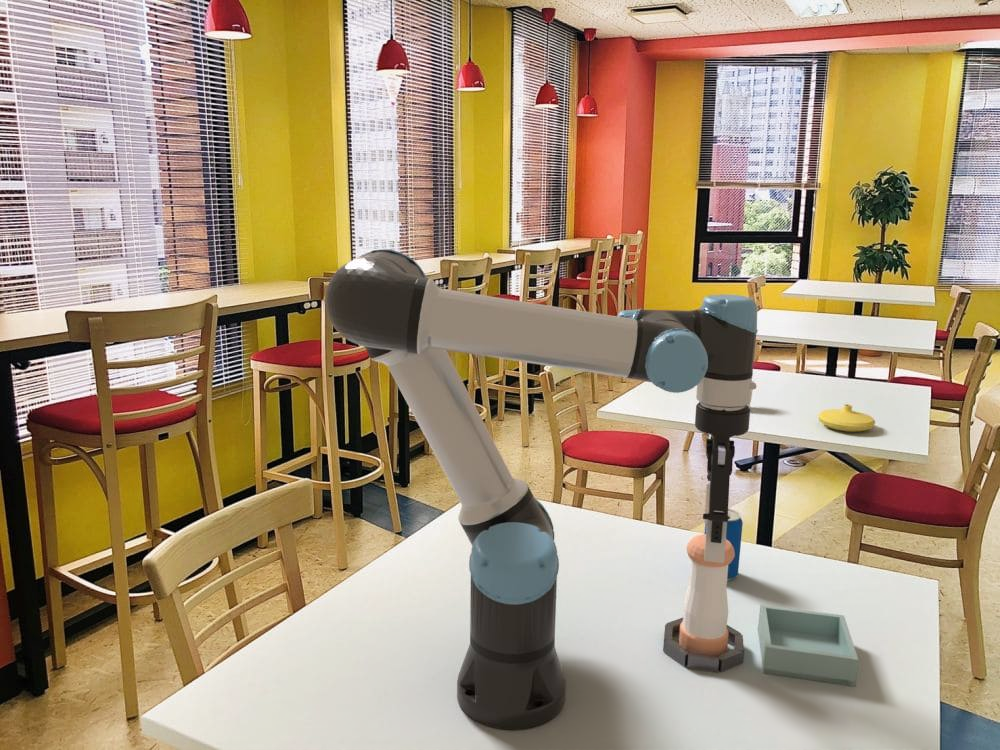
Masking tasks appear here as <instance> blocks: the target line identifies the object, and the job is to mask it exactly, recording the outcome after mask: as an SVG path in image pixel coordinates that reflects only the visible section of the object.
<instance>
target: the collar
mask: <svg viewBox="0 0 1000 750" xmlns="http://www.w3.org/2000/svg"><path fill="white" fill-rule="evenodd" d="M682 621H683V617H681V618H678V619H675V620H673V621H668V622H666V623H665V625H664V633H663V645H662V646H663V647H662V650H663V653H664V654H665V655H667V656H668V657H670V658H671V659H672V660H674V661H675V662H677V663H678V664H679V665H681V666H683V667H684V668H685V667H686V668H687V669H690V670H691V669H692V670H696V671H705V672H710V673H711V672H712V673H719V672H720V673H722V672H725V671H728V670H730V669H732V668H735V667H737V666H740V665H742V664H743V663H744V655H745V654H744V653H745V645H744V636H743V634H742V633H741V632H739V631H738V630H737V629H735V628H733V627H731V626H730V625H728V624H727V627H726V628H727V629H728V634H729V635H728V645H729V644H730V645H731V646H732V647H733V649H731V650H727V652H725V653H723V654H720V655H718V656H715V655H708V654H701V653H694V652H690V651H688V650H687V649H685V648H684V647H682V646H681V645H679V642H677V641H675V640H674V639H673V638H675V637H677V636H678V637H679V634H680V624H681V623H682Z"/></svg>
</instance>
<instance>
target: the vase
mask: <svg viewBox="0 0 1000 750" xmlns="http://www.w3.org/2000/svg"><path fill="white" fill-rule="evenodd" d="M817 418H818V421H819V422H820V423H822V424H823V425H825V426H826V427H828V428H830V429H833V430H837V431H842V432H850V433H855V432H856V433H859V432H863V431H867V430H870V429H872V428H874V426H875V424H876V421H875V419H874V417H872V416H871V415H868V414H866V413H863V412H859V411H855V410H853V405H851V404H847V403H846V404H843V409H825V410H822V411H820V412H819V413H818V415H817Z"/></svg>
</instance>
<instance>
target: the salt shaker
mask: <svg viewBox="0 0 1000 750" xmlns="http://www.w3.org/2000/svg"><path fill="white" fill-rule="evenodd" d="M705 541H706V534H697V535H694V536H693V537H692V538H691V539H690V540H689V541H688V543H687V545H686V553H687V556H688V557H689V559H690V570H689V582H688V586H687V590H686V594H685V598H684V602H683V615H682V618H683V621H682V623H681V624H680V634H679V635H678V644H679V645H681V646H682V647H684V648H685V649H687V650H688V651H690V652H694V653H701V654H708V655H715V656H718V655H720V654H723V653H725V652H728V645H729V643H728V635H729V634H728V629H727V628H726V627H727V625H728V619H729V618H728V617H729V607H728V606H729V604H728V603H729V602H728V591H727V587H728V581H727V575H728V564H730V563H731V561H732V560H733V558H734V556H735V552H734V547H733V546H732V544H731V543H730V542H729V541H728V540H727V539H726V544H725V557H724V563H719V562H709V561H704V556H705Z"/></svg>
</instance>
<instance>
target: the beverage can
mask: <svg viewBox="0 0 1000 750" xmlns="http://www.w3.org/2000/svg"><path fill="white" fill-rule="evenodd" d="M728 516H729V520H728V521H727V530H726V539H727V540H728V541H729V542H730V543H731V544H732V546H733V547H734V552H735V556H734V558H733V560H732V561H731V563H730V564H728V575H727V582H728V581H731V580H733V579H735V578H737V576H738V575H739V566H740V557H741V546H742V545H741V544H742V533H743V525H744V524H743V520H742V516H741V514H740V512H738V511H737V510H734V509H731V508H728ZM706 527H707V523H704V534H706Z"/></svg>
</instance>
